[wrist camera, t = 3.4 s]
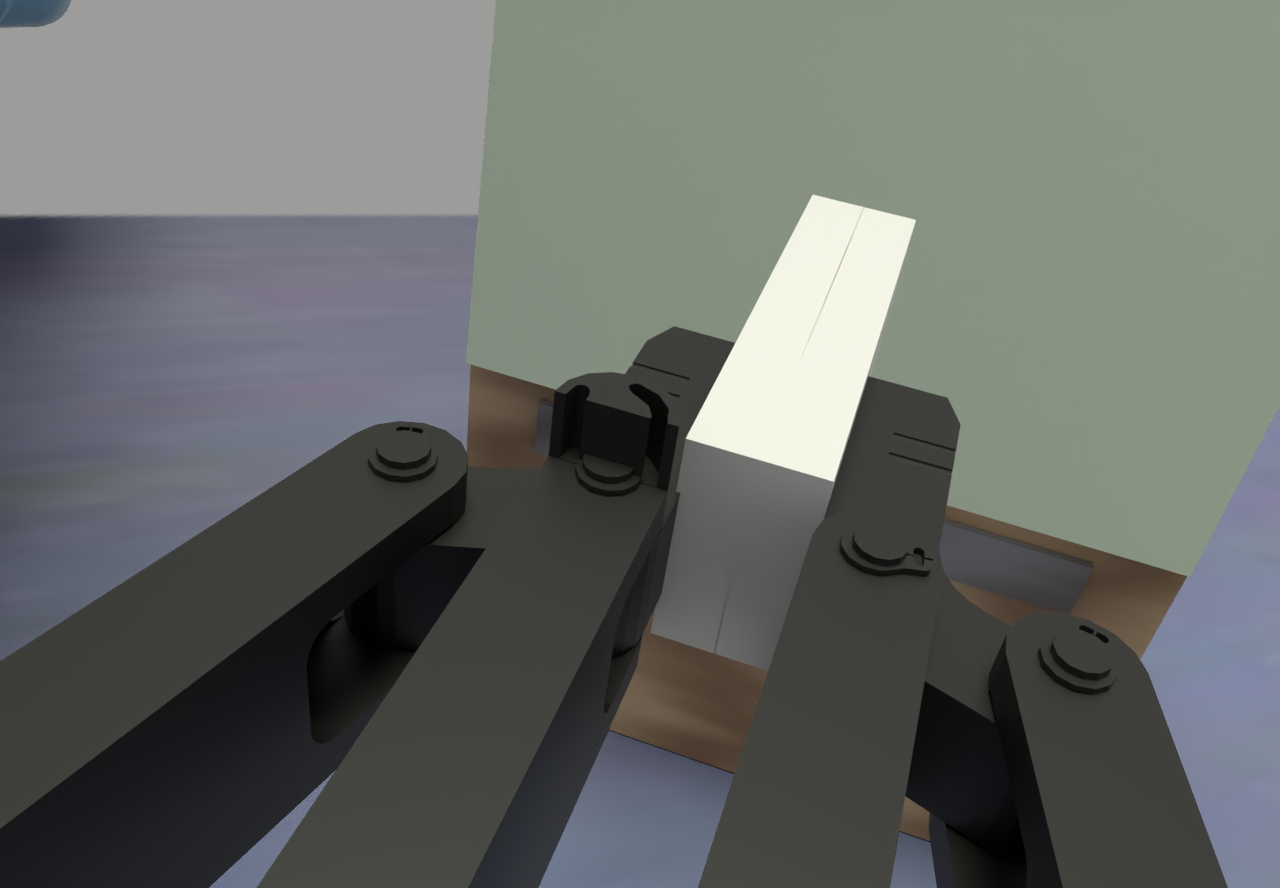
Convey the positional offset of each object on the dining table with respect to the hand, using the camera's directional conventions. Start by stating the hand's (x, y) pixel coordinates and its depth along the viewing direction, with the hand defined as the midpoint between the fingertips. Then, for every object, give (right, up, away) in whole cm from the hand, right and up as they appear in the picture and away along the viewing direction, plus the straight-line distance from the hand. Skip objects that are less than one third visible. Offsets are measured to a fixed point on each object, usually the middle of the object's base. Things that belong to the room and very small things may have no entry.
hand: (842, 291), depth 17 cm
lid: (+2, +3, +8) cm, 8 cm away
